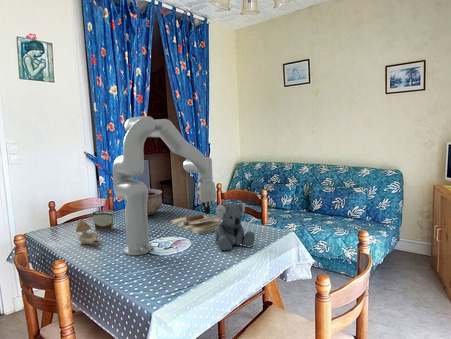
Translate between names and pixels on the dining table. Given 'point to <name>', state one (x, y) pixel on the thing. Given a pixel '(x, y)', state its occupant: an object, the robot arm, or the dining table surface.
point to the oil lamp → (86, 234)
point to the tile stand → (198, 227)
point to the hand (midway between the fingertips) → (207, 213)
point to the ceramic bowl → (153, 201)
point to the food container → (103, 219)
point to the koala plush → (232, 227)
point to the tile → (203, 220)
